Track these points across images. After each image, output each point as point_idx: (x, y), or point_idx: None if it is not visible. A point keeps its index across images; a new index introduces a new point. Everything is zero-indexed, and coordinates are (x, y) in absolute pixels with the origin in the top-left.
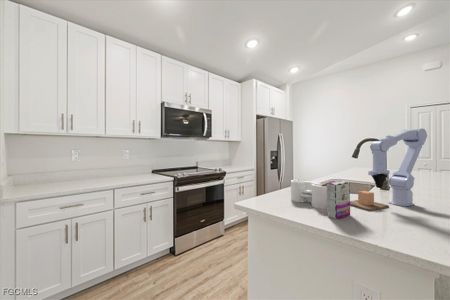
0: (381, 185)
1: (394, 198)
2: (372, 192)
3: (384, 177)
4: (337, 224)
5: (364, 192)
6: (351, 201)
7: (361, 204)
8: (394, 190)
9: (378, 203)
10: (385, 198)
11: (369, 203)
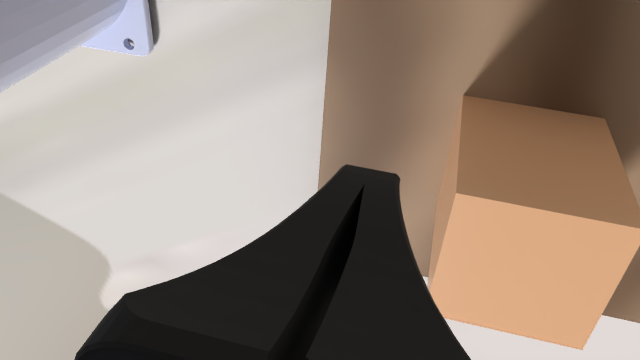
0: (372, 193)
1: (90, 10)
2: (463, 211)
3: (269, 316)
4: None
5: (579, 282)
6: None
7: None
8: (3, 55)
9: (352, 85)
10: (13, 148)
11: (565, 124)
